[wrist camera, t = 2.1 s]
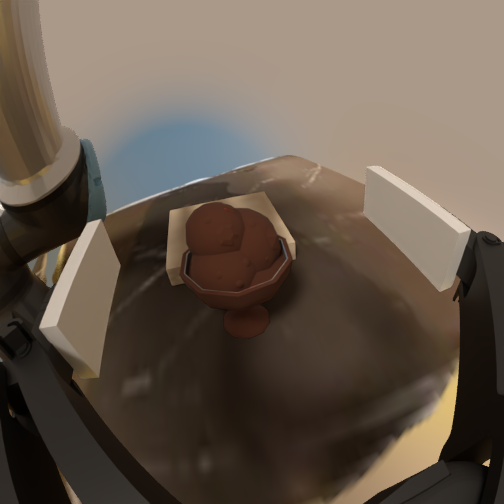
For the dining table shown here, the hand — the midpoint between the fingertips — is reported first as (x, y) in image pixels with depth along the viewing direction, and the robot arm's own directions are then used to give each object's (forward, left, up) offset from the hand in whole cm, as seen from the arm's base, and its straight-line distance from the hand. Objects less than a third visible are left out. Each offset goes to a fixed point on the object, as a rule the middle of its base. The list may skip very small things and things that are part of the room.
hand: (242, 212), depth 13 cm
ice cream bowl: (0, +11, -20) cm, 23 cm away
